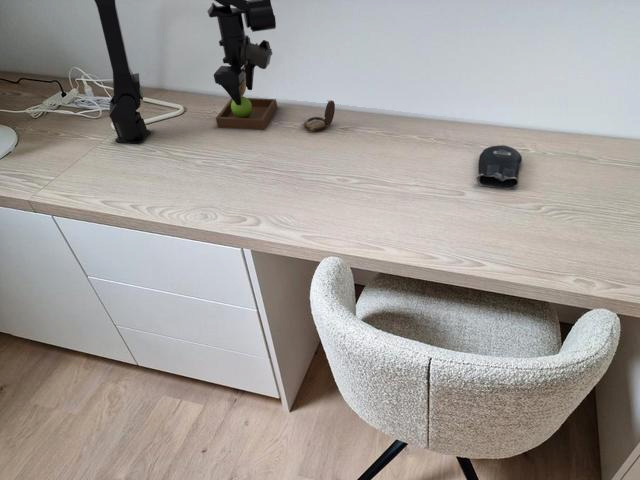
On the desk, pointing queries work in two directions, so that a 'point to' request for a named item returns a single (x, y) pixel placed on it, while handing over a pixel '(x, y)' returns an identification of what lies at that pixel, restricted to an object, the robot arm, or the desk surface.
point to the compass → (321, 119)
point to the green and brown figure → (242, 102)
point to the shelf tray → (255, 120)
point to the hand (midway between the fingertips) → (244, 97)
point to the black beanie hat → (499, 167)
